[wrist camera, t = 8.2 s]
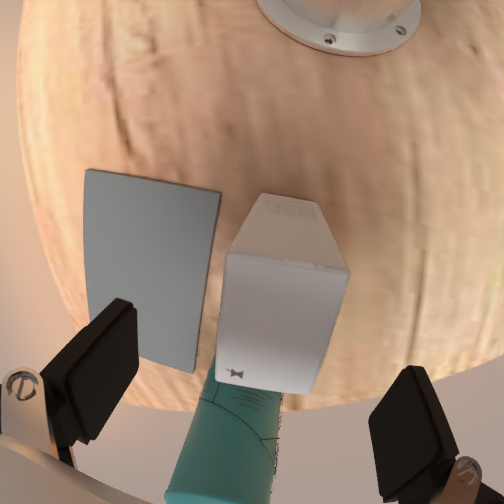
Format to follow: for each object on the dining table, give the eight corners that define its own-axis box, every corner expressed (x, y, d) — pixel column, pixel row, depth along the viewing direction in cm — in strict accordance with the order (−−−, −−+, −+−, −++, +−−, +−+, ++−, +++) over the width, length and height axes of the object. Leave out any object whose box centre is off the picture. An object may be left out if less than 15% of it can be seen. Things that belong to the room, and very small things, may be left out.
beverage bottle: (218, 375, 27) (158, 560, 8) (213, 322, 25) (120, 546, 6) (284, 380, 26) (261, 579, 8) (288, 328, 24) (264, 580, 5)
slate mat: (89, 168, 21) (85, 169, 20) (221, 193, 20) (219, 194, 20) (95, 334, 28) (92, 337, 27) (194, 370, 27) (193, 374, 27)
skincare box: (304, 276, 22) (310, 399, 11) (249, 267, 22) (210, 383, 11) (320, 199, 20) (355, 273, 9) (259, 189, 20) (219, 250, 9)
